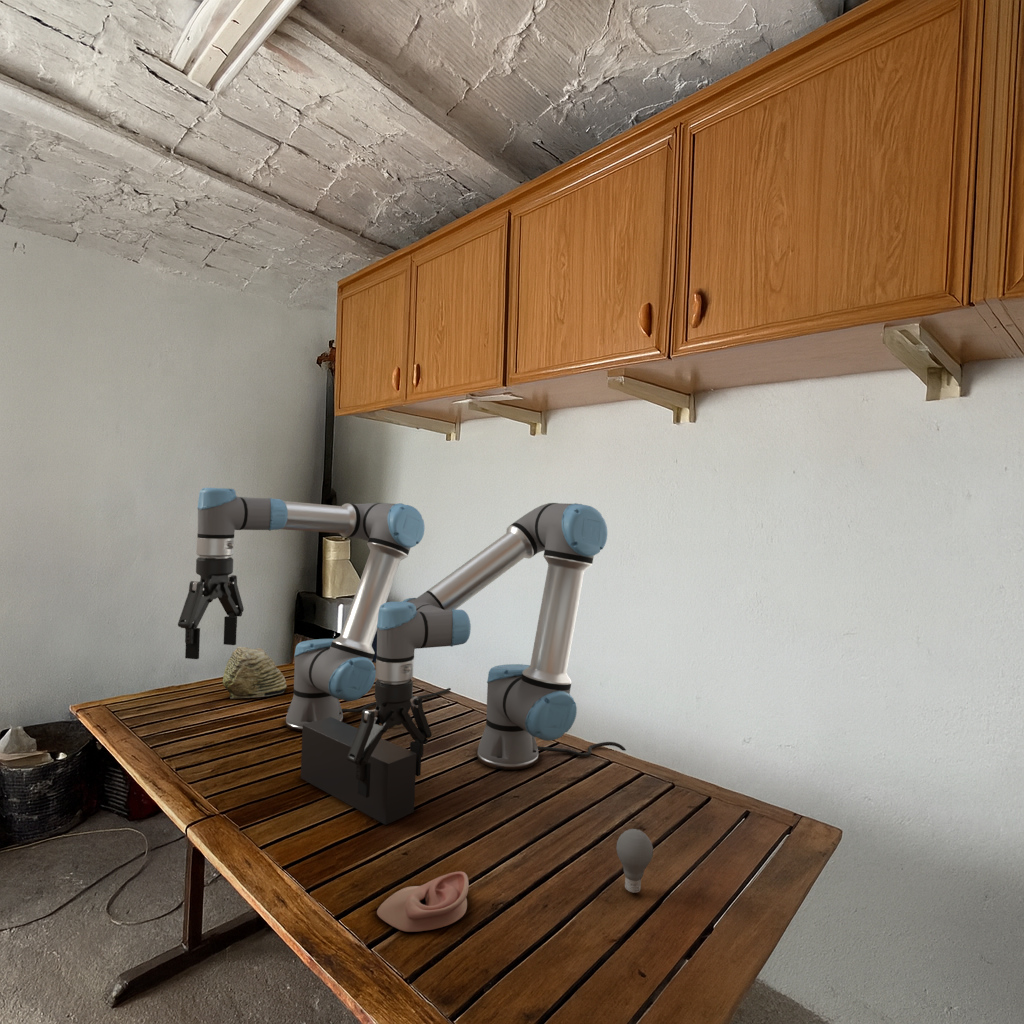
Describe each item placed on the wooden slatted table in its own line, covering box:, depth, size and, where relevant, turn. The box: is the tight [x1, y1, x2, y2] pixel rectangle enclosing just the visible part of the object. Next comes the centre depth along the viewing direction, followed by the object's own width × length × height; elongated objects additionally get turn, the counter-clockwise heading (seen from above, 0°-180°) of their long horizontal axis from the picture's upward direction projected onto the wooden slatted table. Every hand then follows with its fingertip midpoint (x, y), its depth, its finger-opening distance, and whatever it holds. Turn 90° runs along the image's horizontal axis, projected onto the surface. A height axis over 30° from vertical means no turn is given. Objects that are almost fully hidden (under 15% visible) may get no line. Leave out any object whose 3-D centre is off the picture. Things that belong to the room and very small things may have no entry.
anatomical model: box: [376, 871, 470, 933], centre depth 99 cm, size 13×4×12 cm
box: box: [300, 717, 417, 826], centre depth 135 cm, size 30×7×12 cm, turn 51°
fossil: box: [222, 646, 288, 699], centre depth 198 cm, size 9×18×15 cm, turn 132°
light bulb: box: [615, 828, 654, 894], centre depth 106 cm, size 6×6×10 cm
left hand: (211, 651), depth 142 cm, fingers open, 13 cm apart
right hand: (390, 784), depth 128 cm, fingers open, 13 cm apart
